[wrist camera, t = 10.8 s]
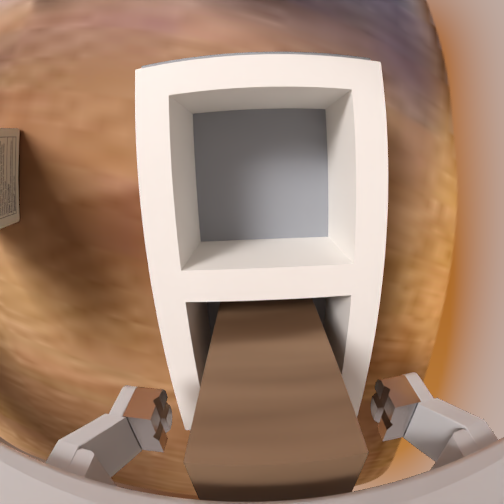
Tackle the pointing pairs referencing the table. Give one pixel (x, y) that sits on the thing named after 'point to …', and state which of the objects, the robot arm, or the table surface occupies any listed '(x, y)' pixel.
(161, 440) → the robot arm
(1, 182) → the skincare box
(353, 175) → the slot rack
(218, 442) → the walnut peg
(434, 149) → the table surface
